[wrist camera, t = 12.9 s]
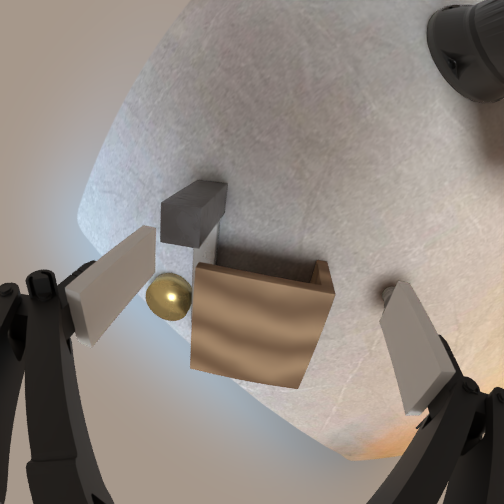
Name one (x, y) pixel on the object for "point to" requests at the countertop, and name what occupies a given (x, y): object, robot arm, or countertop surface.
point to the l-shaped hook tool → (195, 220)
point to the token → (169, 296)
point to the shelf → (257, 323)
